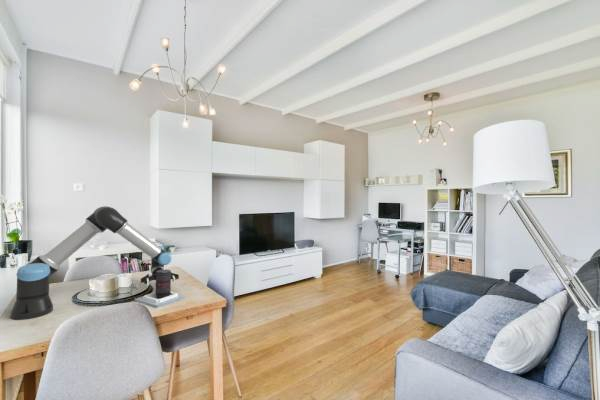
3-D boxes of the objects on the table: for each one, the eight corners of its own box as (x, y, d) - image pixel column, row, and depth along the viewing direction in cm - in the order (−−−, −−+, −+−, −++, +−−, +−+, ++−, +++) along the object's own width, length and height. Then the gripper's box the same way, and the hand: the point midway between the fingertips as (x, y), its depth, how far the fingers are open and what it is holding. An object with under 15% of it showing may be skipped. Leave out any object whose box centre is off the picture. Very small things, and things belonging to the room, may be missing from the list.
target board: (134, 300, 159) (134, 296, 159) (163, 292, 174) (163, 287, 174) (157, 308, 149) (157, 302, 149) (185, 298, 165) (185, 293, 165)
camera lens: (164, 299, 158) (165, 273, 158) (152, 298, 160) (152, 272, 160) (173, 294, 166) (174, 269, 166) (161, 294, 168) (161, 268, 168)
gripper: (179, 276, 185) (184, 285, 167) (135, 281, 172) (136, 291, 154) (179, 265, 185) (185, 273, 167) (136, 269, 172) (136, 277, 154)
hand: (161, 282), depth 160 cm, fingers open, 13 cm apart
